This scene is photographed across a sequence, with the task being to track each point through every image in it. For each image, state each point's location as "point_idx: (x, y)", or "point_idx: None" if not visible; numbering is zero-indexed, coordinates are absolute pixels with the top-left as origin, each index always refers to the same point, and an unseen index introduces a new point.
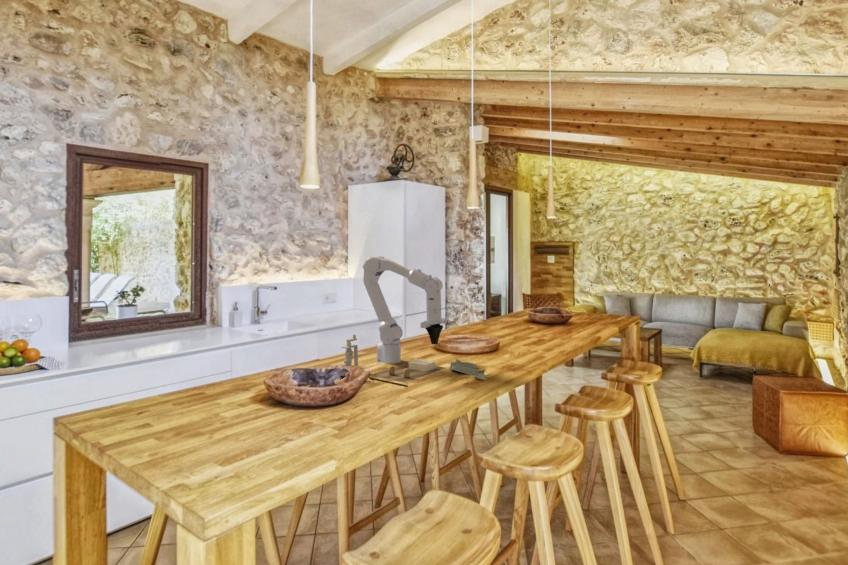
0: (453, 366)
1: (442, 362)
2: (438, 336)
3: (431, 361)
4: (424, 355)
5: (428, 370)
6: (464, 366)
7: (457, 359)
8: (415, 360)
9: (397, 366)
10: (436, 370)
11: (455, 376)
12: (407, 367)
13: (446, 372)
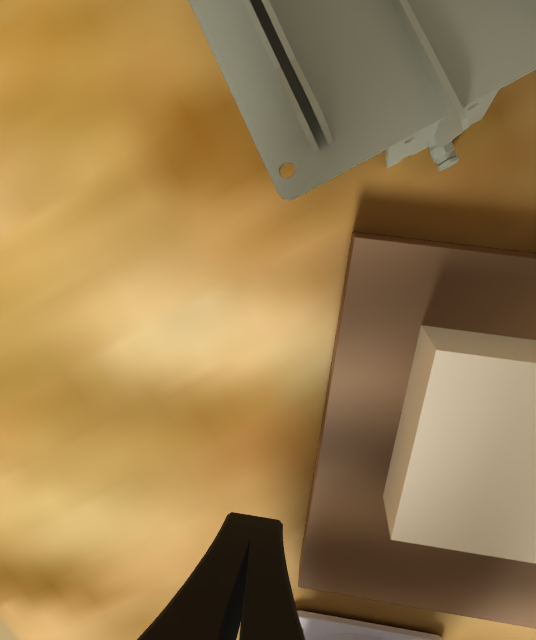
0: (491, 72)
1: (93, 407)
2: (204, 602)
3: (440, 388)
4: (4, 599)
5: (532, 340)
6: (285, 34)
7: (314, 107)
8: (461, 539)
9: (490, 614)
10: (498, 273)
11: None
12: None
13: (375, 218)
